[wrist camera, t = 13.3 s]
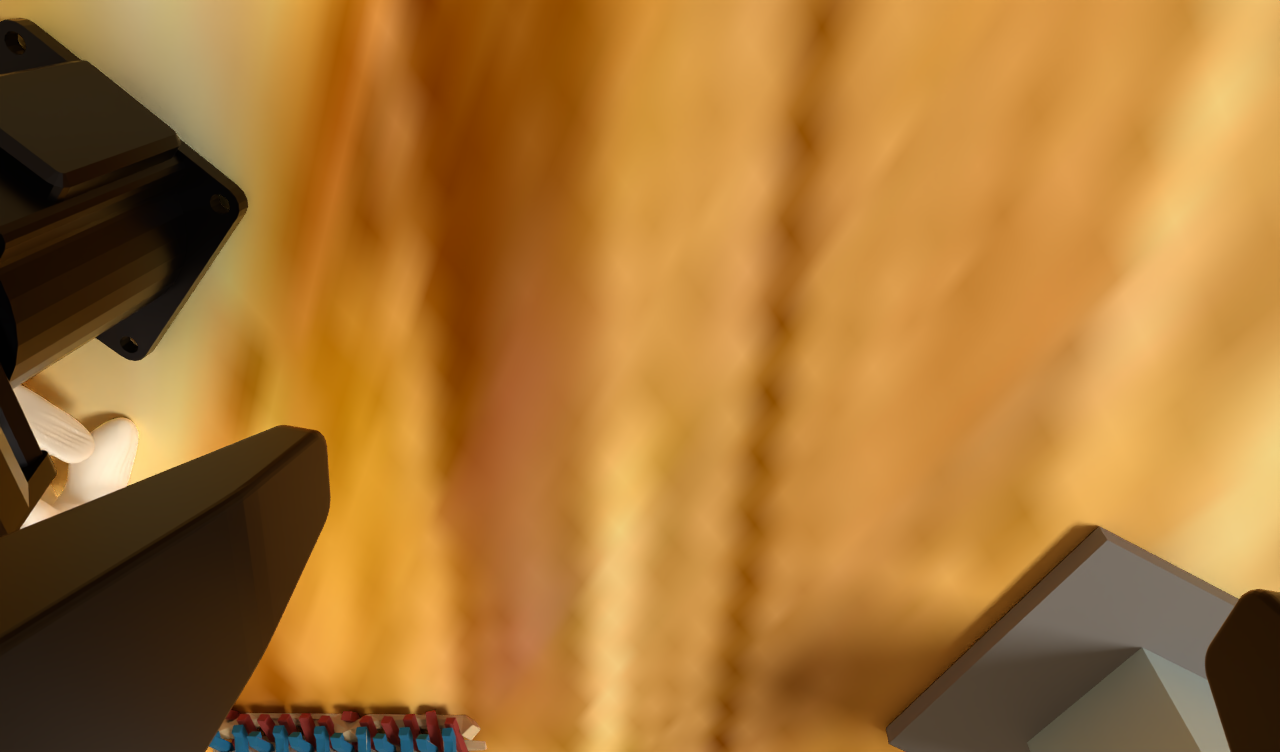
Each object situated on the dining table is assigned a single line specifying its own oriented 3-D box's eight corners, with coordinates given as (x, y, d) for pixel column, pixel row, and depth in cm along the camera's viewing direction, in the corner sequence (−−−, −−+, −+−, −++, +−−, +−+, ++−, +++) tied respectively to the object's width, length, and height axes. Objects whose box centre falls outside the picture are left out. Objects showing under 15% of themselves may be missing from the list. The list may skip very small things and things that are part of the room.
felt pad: (885, 728, 27) (888, 743, 27) (1098, 526, 23) (1107, 540, 22) (1126, 839, 29) (1133, 856, 28) (1374, 669, 24) (1388, 685, 24)
